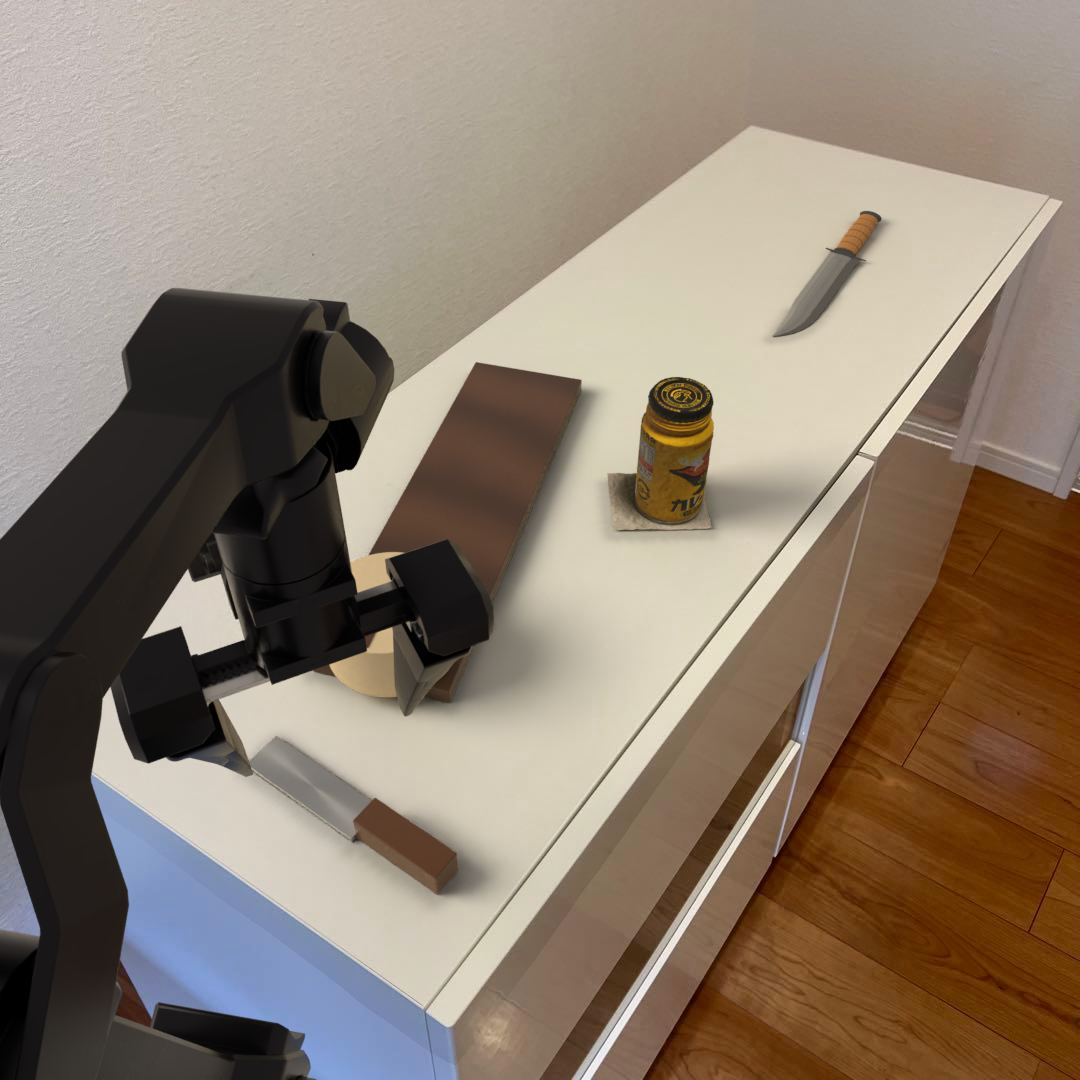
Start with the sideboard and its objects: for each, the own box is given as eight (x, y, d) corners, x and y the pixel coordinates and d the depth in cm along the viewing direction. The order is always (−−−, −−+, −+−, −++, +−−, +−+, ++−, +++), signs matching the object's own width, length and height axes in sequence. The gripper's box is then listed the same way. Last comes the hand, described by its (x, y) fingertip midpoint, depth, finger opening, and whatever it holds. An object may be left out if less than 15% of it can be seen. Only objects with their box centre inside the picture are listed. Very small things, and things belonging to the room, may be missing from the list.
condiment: (711, 529, 93) (729, 419, 85) (613, 531, 93) (622, 421, 84) (699, 474, 98) (715, 365, 90) (606, 476, 98) (614, 366, 90)
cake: (433, 711, 77) (428, 665, 74) (304, 680, 79) (294, 635, 76) (476, 611, 84) (474, 565, 81) (357, 585, 86) (349, 539, 82)
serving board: (450, 703, 80) (449, 691, 78) (312, 671, 82) (309, 659, 81) (581, 391, 107) (581, 379, 106) (476, 373, 109) (475, 361, 108)
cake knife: (462, 865, 70) (461, 847, 69) (433, 900, 68) (431, 883, 67) (277, 738, 77) (272, 720, 76) (246, 767, 75) (240, 749, 74)
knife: (807, 343, 113) (763, 328, 114) (805, 353, 113) (761, 337, 115) (895, 216, 131) (856, 204, 132) (892, 225, 132) (853, 213, 133)
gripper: (409, 393, 58) (429, 591, 69) (46, 494, 52) (131, 693, 63) (494, 521, 51) (501, 720, 62) (85, 655, 45) (173, 848, 56)
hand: (327, 738), depth 61 cm, fingers open, 9 cm apart
